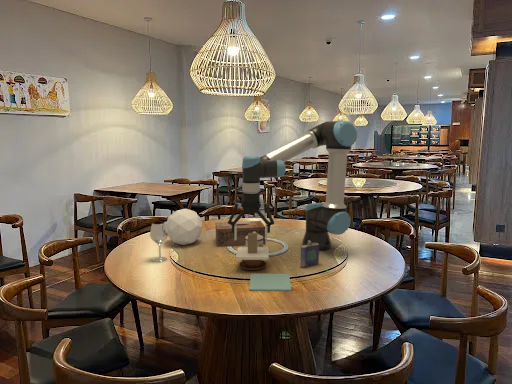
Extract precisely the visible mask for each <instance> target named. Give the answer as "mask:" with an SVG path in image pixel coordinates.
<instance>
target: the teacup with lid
mask: <svg viewBox="0 0 512 384" xmlns="http://www.w3.org/2000/svg"><path fill="white" fill-rule="evenodd" d="M252 233H256V232H252ZM245 239H246V246H245V247H248V236H246V237H245ZM263 239H264V238H263V236H262V235H259V234H257V247H264V245H263Z"/></svg>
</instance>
